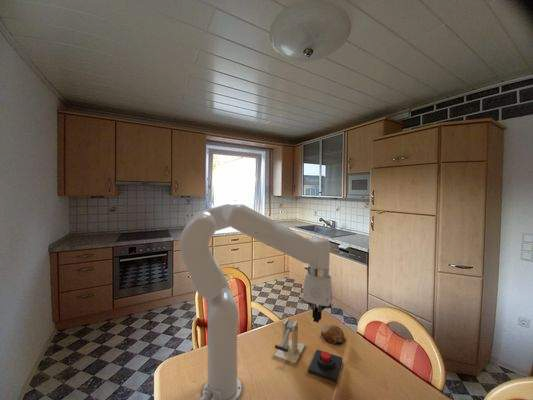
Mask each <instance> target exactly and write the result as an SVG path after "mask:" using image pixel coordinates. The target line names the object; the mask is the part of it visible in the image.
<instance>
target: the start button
mask: <svg viewBox="0 0 533 400" xmlns="http://www.w3.org/2000/svg"><path fill="white" fill-rule="evenodd" d="M330 354H331V353H330V352H329V351H323V352H322V353H321V360H322V361H323V362H326V363H327V362H330V361H331V355H330Z"/></svg>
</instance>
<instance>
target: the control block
mask: <svg viewBox="0 0 533 400" xmlns="http://www.w3.org/2000/svg"><path fill="white" fill-rule="evenodd" d="M322 352H324V351H323V350H320V349H316V350H315V352H314V355H313V357H312V359H311V361H310V364H309V366H308V369H307V373H309V374H311V375H313V376H317V377H320V378H322V379H325V380H327V381H330V382H333V383H335V386H337V385H338V381H339V377H340V373H341V369H342V364H343V357H342V356H338V355H335V354H332V353H330V355H331V361H330V362H327V363H326V362H323V361H322V360H321V353H322Z"/></svg>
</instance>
